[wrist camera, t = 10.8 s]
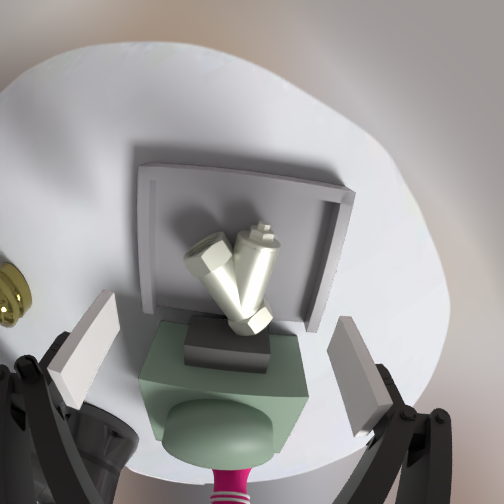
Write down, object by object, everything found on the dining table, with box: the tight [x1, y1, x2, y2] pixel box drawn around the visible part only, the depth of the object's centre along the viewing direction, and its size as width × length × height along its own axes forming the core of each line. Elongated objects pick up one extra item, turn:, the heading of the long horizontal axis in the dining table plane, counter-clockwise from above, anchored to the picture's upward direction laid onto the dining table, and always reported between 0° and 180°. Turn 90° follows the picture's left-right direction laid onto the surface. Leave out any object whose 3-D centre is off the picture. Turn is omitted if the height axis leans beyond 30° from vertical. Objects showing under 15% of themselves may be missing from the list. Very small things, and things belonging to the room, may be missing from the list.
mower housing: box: [138, 315, 309, 470], centre depth 24 cm, size 14×14×11 cm
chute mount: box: [137, 163, 356, 333], centre depth 22 cm, size 13×16×2 cm
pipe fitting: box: [183, 221, 281, 336], centre depth 21 cm, size 8×4×7 cm
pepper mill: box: [209, 468, 252, 504], centre depth 26 cm, size 7×7×20 cm
